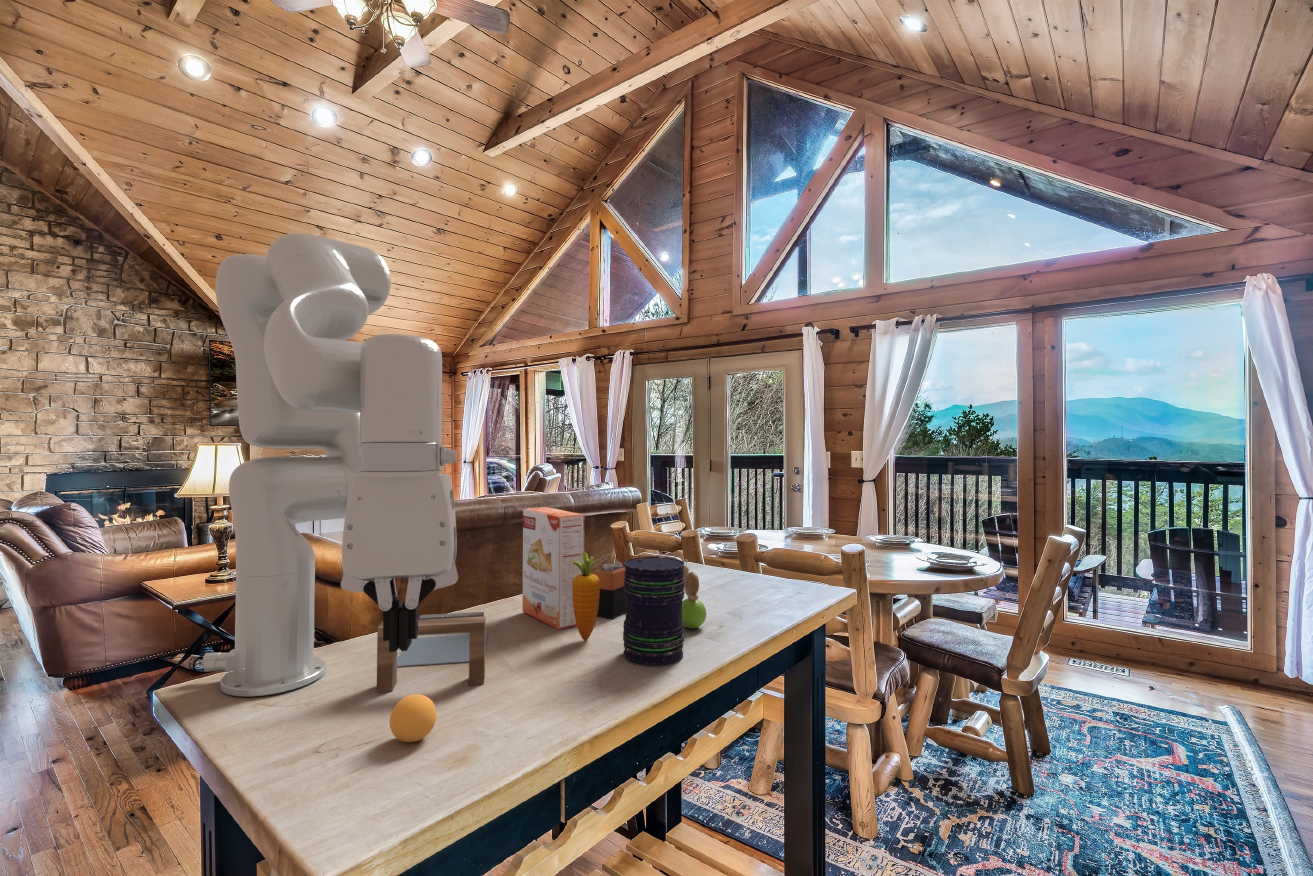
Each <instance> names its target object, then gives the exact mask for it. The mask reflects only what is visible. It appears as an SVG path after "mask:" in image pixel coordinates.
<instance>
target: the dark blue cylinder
mask: <svg viewBox="0 0 1313 876" xmlns="http://www.w3.org/2000/svg"><path fill="white" fill-rule="evenodd" d="M624 566H625V569H626V571H625V578H624V597H625V599H626V613H625V620H624V621H623V626H622V627H623V632H622V641H623V648H624V649H623V658H624V660H626V661H627V662H628V663H630V664H633V665H636V666H642V667H649V668H652V667H653V668H655V667H657V668H658V667H666V666H672V665H675V664H678V663H679V662H681V661H682V660H683V658H684V650H683V648H684V642H685V632H684V630H685V626H684V622H683V621H682V601H684V598H685V595H686V593H685V590H684V587H685V579H684V571H683V570H684V566H685V562H683V561H682V559H677V558H671V557H662V556H648V557H647V556H644V557H634V558H631V559H627V560H625V561H624Z"/></svg>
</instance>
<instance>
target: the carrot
mask: <svg viewBox="0 0 1313 876" xmlns="http://www.w3.org/2000/svg"><path fill="white" fill-rule="evenodd" d="M582 556H583V560H584V564H580V563H579V562H578V561H573V564H575V565H577V566H578V567H579V569H580V570H581V572H582V574H579V575H576V576H575V577H574V578H573V581H572V595H573V608H574V615H575V620H576V625H575V626H576V628H577V631H578V633H579V635H580V637H581V639H582V640H583V641H584V642H586V641H588V639H590V637H591V635H592V633H593V631H594V628H595V626H596V622H597V617H598V616H597V613H598V607H599V594H600V581H599V578H598V577H597V576H596V575H595V573H591V572H592V571H591V570H592V568H593V564H594V560H595V558H594V557H593V556H590V557H589V556H588V553H587V552H585V551H584V553H582Z"/></svg>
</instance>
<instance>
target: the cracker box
mask: <svg viewBox="0 0 1313 876" xmlns="http://www.w3.org/2000/svg"><path fill="white" fill-rule="evenodd" d="M584 552H585V514H583V513H578V512H573V511H568V510H563V509H559V508H554V507H548V506H542V507H540V506H539V507H526V508H523V509H522V612H523V613H525V614H527V615H529V616H531V617H533V618H535V619H537V620H539V621H541V622H543V623H545V624H547V625H549V626H551V627H553V628H555V629H556V630H562V629H566V628H570V627H575V626H577V625H576V620H575V615H574V608H573V595H572V581H573V578H574V577H575V576H576V575H579V574H582V572H581V570H580V569H579V567H578V566H577V565H575V564H573V561H578V562H579V563H580V564H584V565H585V563H584V560H583V556H582V553H584Z"/></svg>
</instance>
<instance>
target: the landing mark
mask: <svg viewBox="0 0 1313 876" xmlns="http://www.w3.org/2000/svg"><path fill="white" fill-rule="evenodd" d="M488 636H489V633H486V632H485V650H486V648H487V643H488V638H489V637H488ZM469 638H470V633H469V634H456V635H455V634H454V635H441V636H440V635H438V636H437V635H436V636H421V637H419V636H418V637H417V639H412V643H411V644H410V646H409V648H408V650H407V651H401V652H400V655H399V656H398V657H397V668H404V667H419V666H433V665H434V666H435V665H449V664H462V663H463V664H465V663H469Z"/></svg>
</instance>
